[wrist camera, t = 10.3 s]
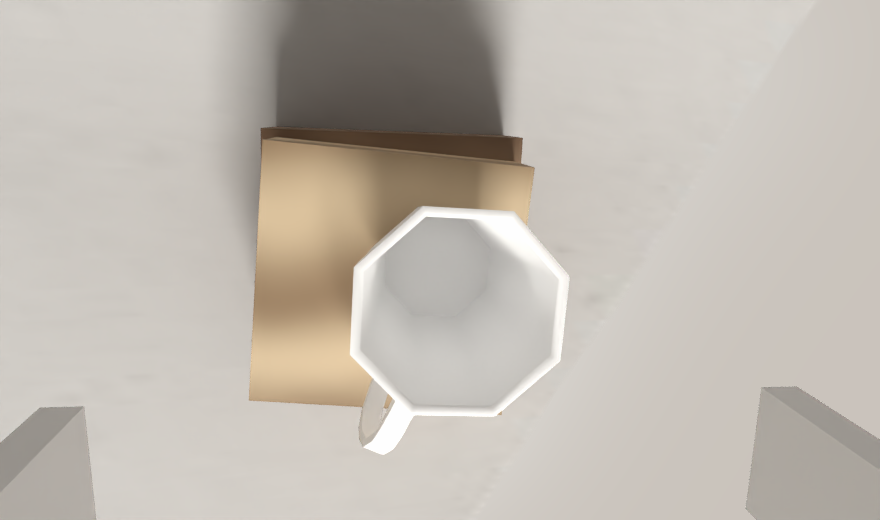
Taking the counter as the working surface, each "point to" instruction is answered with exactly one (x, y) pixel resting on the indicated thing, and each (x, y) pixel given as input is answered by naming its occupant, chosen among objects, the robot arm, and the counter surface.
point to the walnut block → (410, 141)
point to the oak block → (343, 250)
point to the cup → (453, 318)
